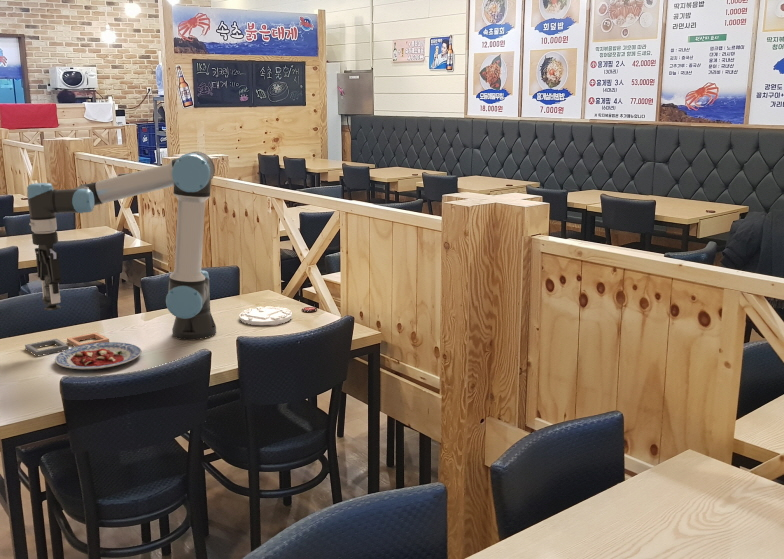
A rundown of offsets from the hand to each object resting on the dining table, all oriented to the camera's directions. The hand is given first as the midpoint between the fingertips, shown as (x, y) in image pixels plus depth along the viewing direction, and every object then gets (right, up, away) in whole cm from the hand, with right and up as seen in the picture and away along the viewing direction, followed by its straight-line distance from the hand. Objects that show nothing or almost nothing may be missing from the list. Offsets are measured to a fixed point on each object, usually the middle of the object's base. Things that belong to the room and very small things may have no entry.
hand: (51, 301), depth 251 cm
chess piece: (0, -2, +1) cm, 3 cm away
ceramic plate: (+18, -19, -7) cm, 28 cm away
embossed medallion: (+64, -9, +41) cm, 76 cm away
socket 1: (-3, -16, +2) cm, 17 cm away
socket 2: (+8, -14, +10) cm, 19 cm away
